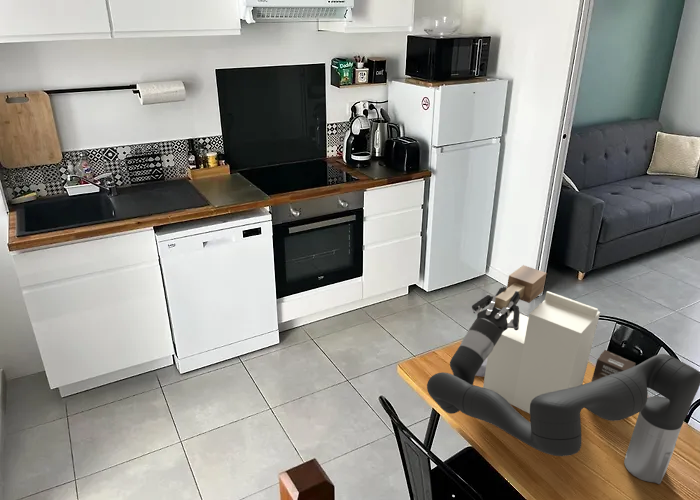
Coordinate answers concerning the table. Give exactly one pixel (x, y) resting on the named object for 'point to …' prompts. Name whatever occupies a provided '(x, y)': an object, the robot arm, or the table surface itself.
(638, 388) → the robot arm
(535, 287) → the mallet
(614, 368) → the coffee box
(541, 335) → the step stand
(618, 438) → the table surface
